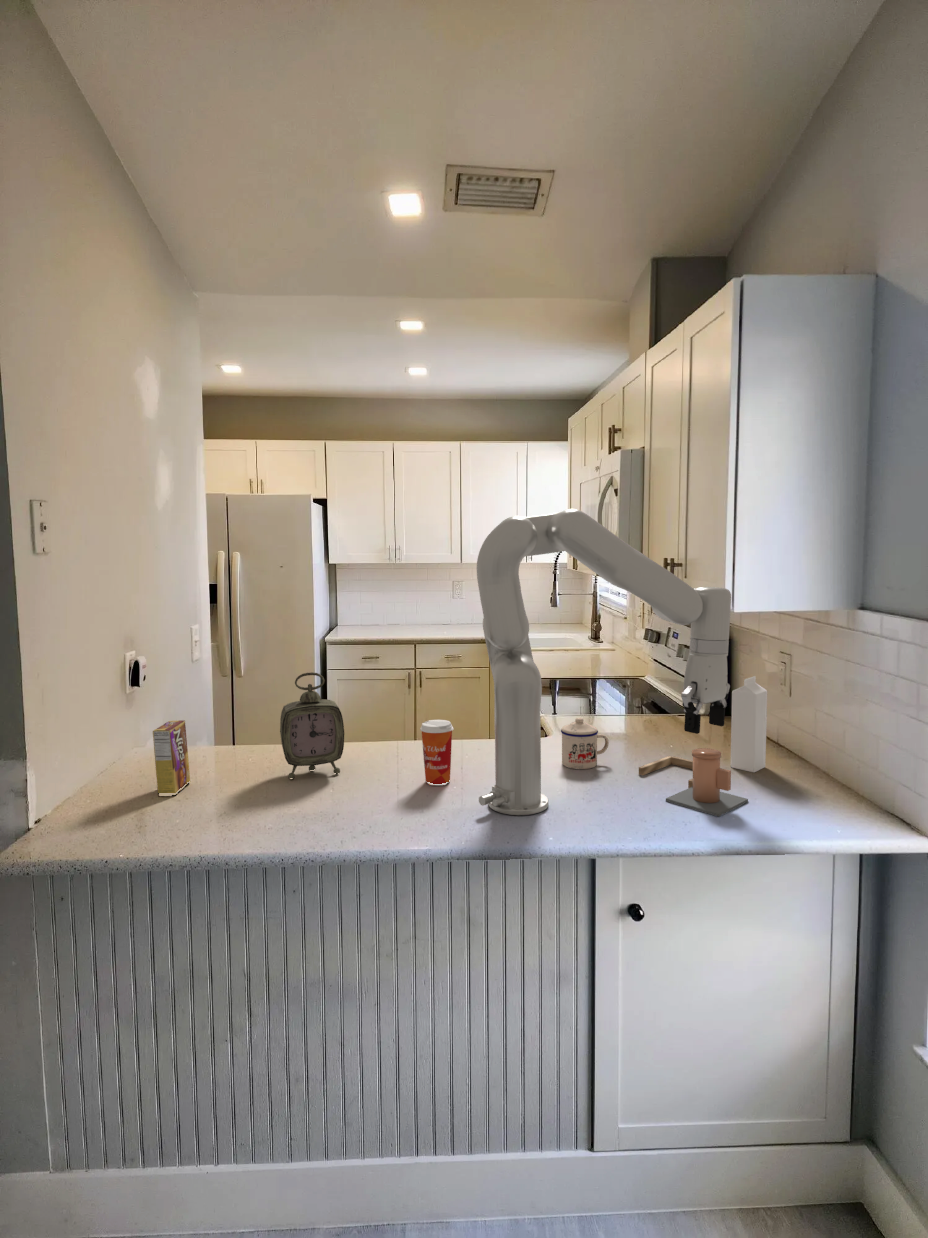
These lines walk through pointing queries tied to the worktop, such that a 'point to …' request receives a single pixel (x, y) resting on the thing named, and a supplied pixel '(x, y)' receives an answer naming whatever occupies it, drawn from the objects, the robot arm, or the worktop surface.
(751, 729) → the milk
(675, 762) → the bent wooden rod
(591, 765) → the teacup with lid
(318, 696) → the tabletop clock
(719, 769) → the jug
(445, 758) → the paper cup
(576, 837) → the worktop surface
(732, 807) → the mat
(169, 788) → the candy box
